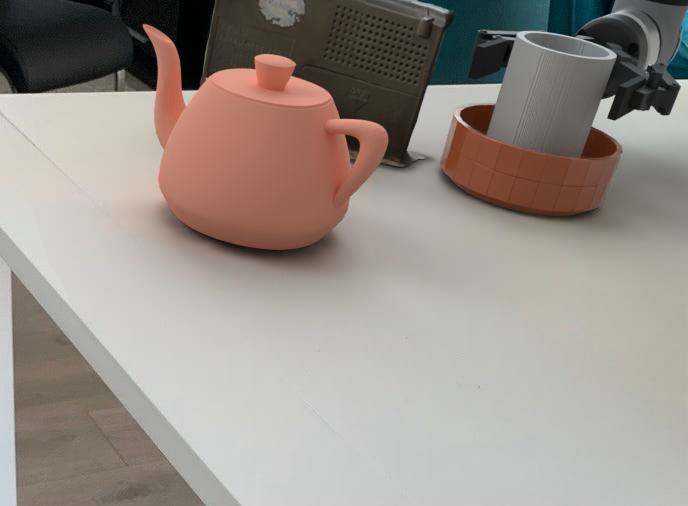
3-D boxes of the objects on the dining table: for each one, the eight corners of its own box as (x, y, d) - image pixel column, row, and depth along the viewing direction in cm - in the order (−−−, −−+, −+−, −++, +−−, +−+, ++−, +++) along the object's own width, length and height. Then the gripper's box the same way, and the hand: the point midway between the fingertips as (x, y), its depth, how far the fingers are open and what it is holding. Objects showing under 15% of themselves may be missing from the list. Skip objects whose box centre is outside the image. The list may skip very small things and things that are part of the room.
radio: (427, 158, 105) (472, -9, 95) (411, 181, 98) (457, 4, 89) (214, 104, 109) (236, -62, 99) (186, 122, 102) (207, -53, 92)
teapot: (77, 199, 83) (86, 28, 75) (180, 162, 93) (198, 9, 85) (313, 291, 75) (352, 113, 67) (397, 241, 86) (439, 80, 78)
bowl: (615, 194, 105) (638, 137, 101) (577, 235, 93) (601, 172, 90) (467, 149, 109) (484, 93, 106) (414, 182, 98) (430, 121, 94)
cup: (457, 169, 100) (497, 32, 93) (510, 159, 106) (552, 29, 98) (533, 202, 96) (582, 62, 88) (585, 190, 101) (635, 56, 93)
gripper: (713, 127, 105) (661, 166, 91) (490, 63, 114) (410, 89, 99) (748, 45, 100) (699, 73, 86) (512, -15, 109) (432, 1, 94)
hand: (544, 82), depth 92 cm, fingers open, 13 cm apart
